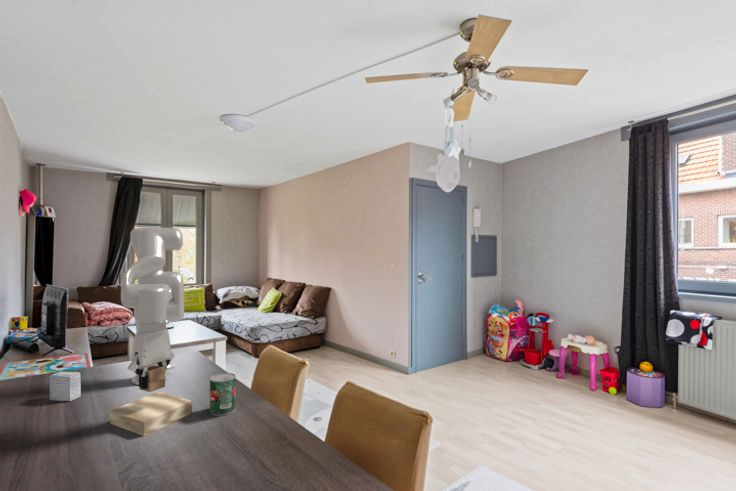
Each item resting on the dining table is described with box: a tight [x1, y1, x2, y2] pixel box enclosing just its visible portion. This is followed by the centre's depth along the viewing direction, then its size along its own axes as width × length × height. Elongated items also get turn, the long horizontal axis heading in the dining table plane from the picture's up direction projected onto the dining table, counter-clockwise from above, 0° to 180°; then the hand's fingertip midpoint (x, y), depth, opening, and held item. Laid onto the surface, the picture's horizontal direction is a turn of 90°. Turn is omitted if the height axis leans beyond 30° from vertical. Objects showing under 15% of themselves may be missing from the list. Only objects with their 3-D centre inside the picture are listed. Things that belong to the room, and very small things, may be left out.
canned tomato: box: [209, 372, 237, 417], centre depth 125 cm, size 8×8×11 cm
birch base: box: [109, 391, 193, 437], centre depth 119 cm, size 16×16×4 cm
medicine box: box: [48, 371, 82, 402], centre depth 133 cm, size 8×4×9 cm, turn 84°
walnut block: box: [139, 365, 166, 393], centre depth 119 cm, size 5×5×6 cm
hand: (152, 384), depth 119 cm, fingers closed on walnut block, 4 cm apart
